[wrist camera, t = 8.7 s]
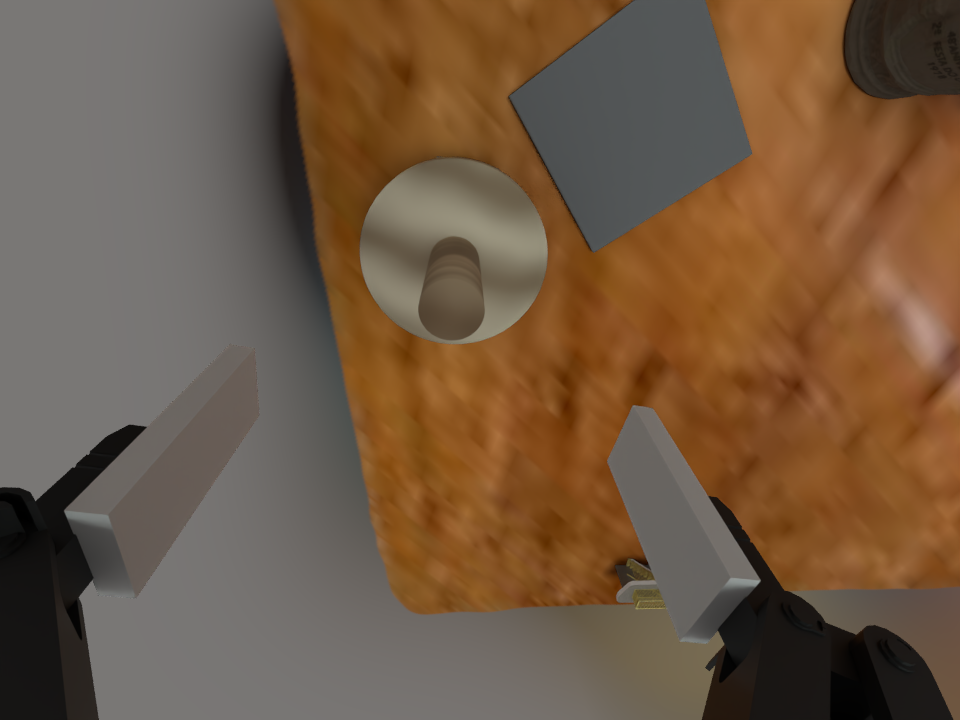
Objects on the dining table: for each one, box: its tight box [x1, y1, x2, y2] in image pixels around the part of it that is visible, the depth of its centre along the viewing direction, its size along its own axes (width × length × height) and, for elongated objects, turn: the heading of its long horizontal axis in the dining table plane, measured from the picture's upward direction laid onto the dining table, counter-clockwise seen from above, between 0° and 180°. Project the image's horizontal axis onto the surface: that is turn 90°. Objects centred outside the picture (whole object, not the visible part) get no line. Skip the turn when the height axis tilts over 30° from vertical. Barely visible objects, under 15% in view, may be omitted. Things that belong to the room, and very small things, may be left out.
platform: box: [615, 558, 667, 609], centre depth 58 cm, size 12×18×7 cm, turn 88°
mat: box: [508, 0, 752, 253], centre depth 33 cm, size 14×14×1 cm
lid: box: [360, 157, 548, 344], centre depth 28 cm, size 14×14×11 cm
